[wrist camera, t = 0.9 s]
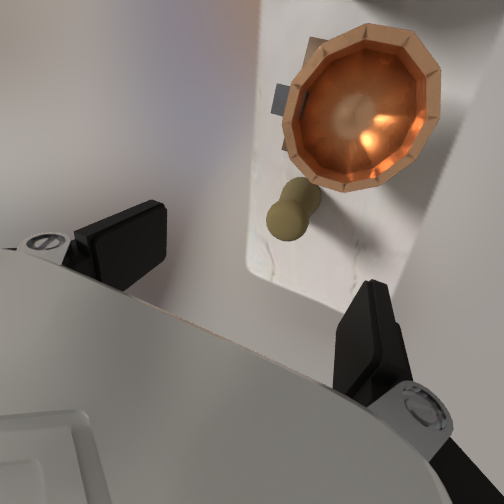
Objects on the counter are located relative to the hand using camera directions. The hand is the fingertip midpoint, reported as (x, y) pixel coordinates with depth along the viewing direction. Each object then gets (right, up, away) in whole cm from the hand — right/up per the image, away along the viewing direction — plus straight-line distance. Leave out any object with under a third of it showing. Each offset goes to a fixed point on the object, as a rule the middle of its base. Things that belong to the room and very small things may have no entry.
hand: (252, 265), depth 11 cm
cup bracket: (+12, +18, +19) cm, 29 cm away
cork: (+8, +9, +26) cm, 29 cm away
